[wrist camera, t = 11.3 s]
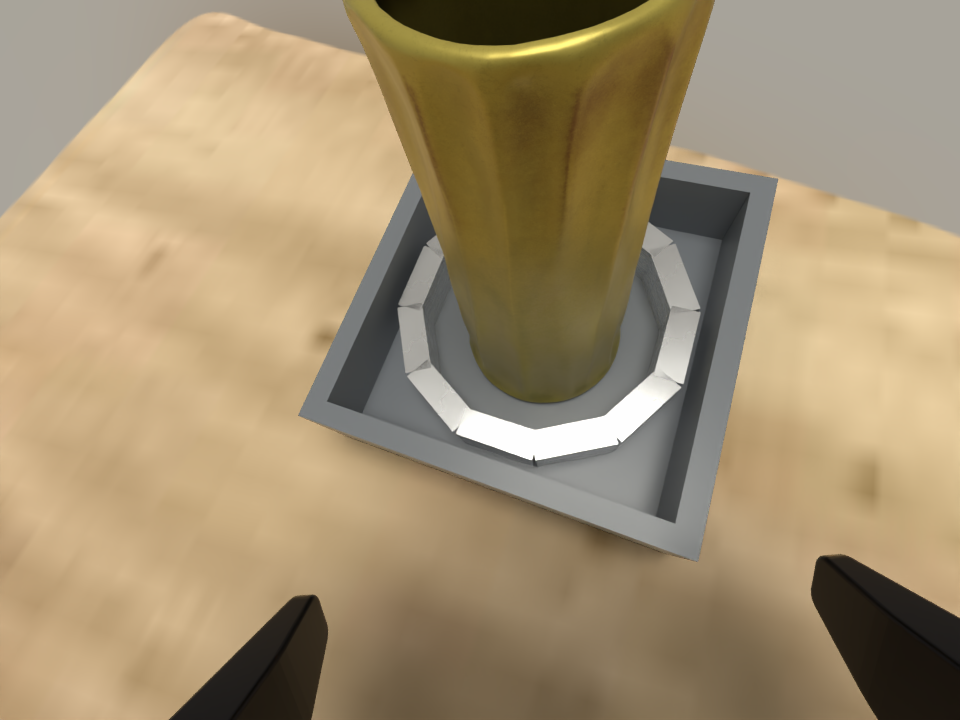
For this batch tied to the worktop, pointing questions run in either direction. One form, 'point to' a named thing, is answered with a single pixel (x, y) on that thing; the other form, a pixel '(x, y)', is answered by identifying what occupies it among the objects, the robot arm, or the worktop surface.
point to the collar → (572, 440)
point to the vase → (536, 162)
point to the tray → (645, 454)
